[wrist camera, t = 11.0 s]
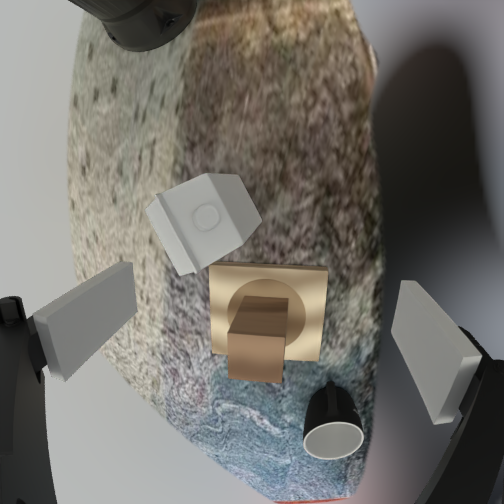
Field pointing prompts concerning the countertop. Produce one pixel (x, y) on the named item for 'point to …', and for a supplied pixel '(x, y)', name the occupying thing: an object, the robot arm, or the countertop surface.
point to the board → (271, 285)
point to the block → (258, 339)
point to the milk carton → (203, 220)
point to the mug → (332, 424)
